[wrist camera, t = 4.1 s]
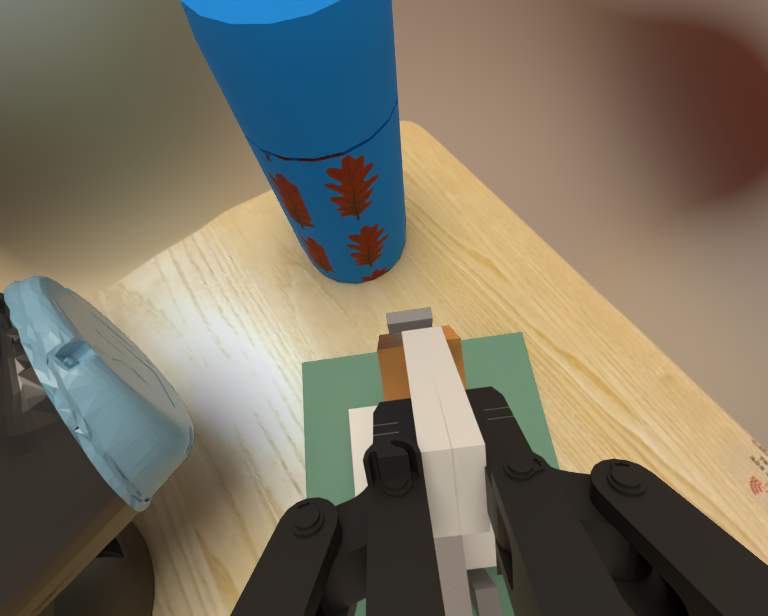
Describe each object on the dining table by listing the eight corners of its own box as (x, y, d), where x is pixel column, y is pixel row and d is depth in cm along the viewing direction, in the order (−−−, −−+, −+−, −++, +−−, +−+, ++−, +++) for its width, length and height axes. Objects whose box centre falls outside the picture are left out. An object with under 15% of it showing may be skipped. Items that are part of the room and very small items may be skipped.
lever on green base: (316, 664, 28) (257, 765, 18) (304, 365, 37) (261, 322, 27) (599, 632, 28) (701, 719, 18) (519, 335, 37) (556, 280, 26)
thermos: (423, 261, 41) (425, -23, 18) (325, 301, 40) (193, 58, 17) (383, 185, 45) (343, -122, 22) (294, 219, 44) (156, -62, 21)
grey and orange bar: (422, 618, 23) (428, 687, 19) (379, 334, 21) (377, 349, 17) (485, 611, 22) (503, 679, 19) (448, 324, 21) (460, 338, 17)
